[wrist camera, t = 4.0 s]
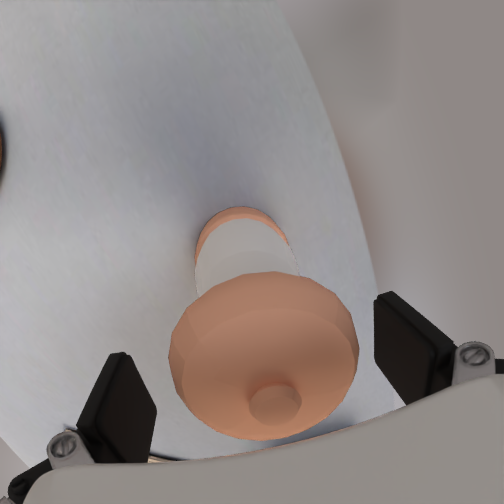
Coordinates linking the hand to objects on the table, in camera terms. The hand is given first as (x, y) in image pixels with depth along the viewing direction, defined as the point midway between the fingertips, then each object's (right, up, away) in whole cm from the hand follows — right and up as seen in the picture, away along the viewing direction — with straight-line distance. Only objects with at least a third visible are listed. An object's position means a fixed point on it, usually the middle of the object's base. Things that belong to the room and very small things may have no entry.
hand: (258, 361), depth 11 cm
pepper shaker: (-1, +4, +16) cm, 17 cm away
